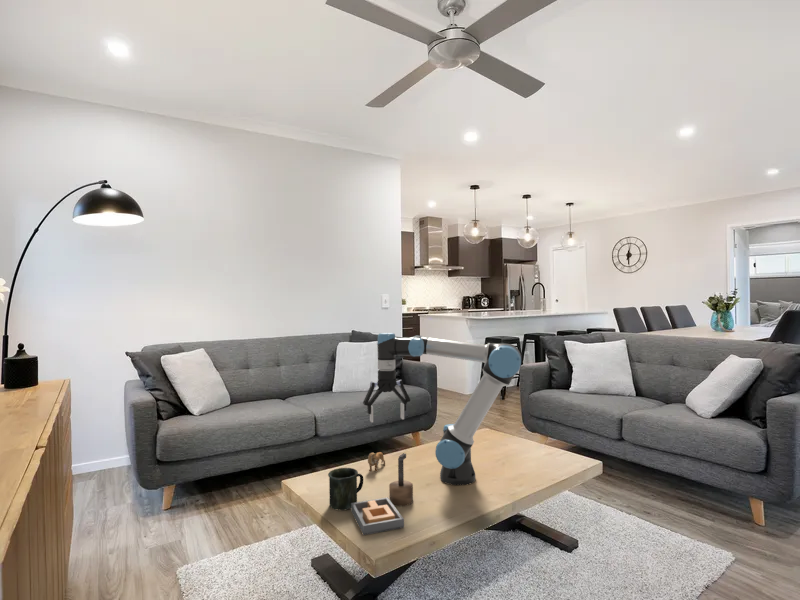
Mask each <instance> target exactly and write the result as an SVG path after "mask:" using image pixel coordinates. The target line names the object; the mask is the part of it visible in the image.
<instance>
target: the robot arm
mask: <svg viewBox="0 0 800 600" xmlns="http://www.w3.org/2000/svg"><path fill="white" fill-rule="evenodd" d="M376 345H377V369H378V370H377V381H376V382H375V381H370V383H369V388H368V390H367V393H366V395H365V397H364V399H363V402H362V404H363V405H364V406H367V415H369V422H370V423H374V406H373V404H374V402H375V401H376V400H377V399H378V397H380V395H381V394H382V393H391V392H393V393H394V394H395V396H397V398H398V399H399V400H400V401H401V402H400V407H399V408H400V419H401V420H405V412H406V411H407V404H408V403H409V402H411V398H410V396H409V393H407V390H406V388H405V386H404V381H403V380H402V379H398V380H396V377H397V375H396V357H397V356H398V357H399V356H401V357H402V356H403V357H404V356H405V357H421V356H423V355H429V356H437V357H444V358H450V359H457V360H465V361H470V362H478V363H484V366H483V367H482V369H481V370H482V373H483V375H482V376H481V378H480V380H479V382H478V384H477V386H475V389H474V390H473V392H472V393H471V395H470V397H469V399H468V401H467V403H466V404H465V405H464V407H463V409H462V410H461V412H460V414H459V416H458V418H457V420H456V421H455V423H449V424H445V425H444V426H443V430H442V432H443V436H442V437H441V439H440V441H439V442H438V443H437V444H436V447H435V457H436V460H437V462H438V463H439V464H440V465H441V469H440V473H439V479H440V481H441V482H443V483H445V484H447V485H451V484H452V486H466V485H467V484H468V485H471V484H473V483H474V482H476V472H475V469H474V465H473V463H472V447H473V445H474V443H475V441H474V436H475V434H476V432H477V431H478V429H479V427H480V426H481V424H482V422H483V421H484V419H485V417H487V416H486V415H488V412H489V410H490V409H491V408H492V405H493V404H494V403H495V400H496V399H497V398H498V395H499V394H500V392H501V390H502V389H503V387H506V386H507V387H508V386H509V385H510V383H511V382H512V380H513V378H514V377H515V375H516V374H518V372H519V370H520V368H521V365H522V353H521V352H520V350H519V349H518V347H517V346H516V345H514V344H511V343H495V342H487V344H482V343H475V342H466V341H459V340H458V341H457V340H451V339H442V338H437V337H435V338H434V337H429V336H428V337H426V336H423V335H419V334H418V335H414V336H411V337H396V334H395V333H394V332H380V333H379V334H378V335H377V343H376ZM396 386H398V387H399V388H400V390H401V392H402V394H401V393H400V392H399V391H398V390H397V388H396ZM376 387H378V388H377V390H376V391H375V392H374V390H375V389H376ZM373 392H374V394H373ZM372 394H373V395H372ZM403 396H404V397H403ZM470 483H471V484H470Z"/></svg>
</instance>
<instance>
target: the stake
mask: <svg viewBox="0 0 800 600" xmlns="http://www.w3.org/2000/svg"><path fill="white" fill-rule="evenodd" d="M406 458H407V453H402V454H400V455H399V456H398V459H397V460H398V461H397V466H398V467H397V469H398V471H397V472H398V474H397V475H398V476H397V477H398V480H393V481H392V482H390V483H389V485H388V487H389V490H388V491H389V493H388V494H389V497H388V498H389V500H390V501H391V502H392V504H393V505H394V506H395V507H396V506H398V507H405V506H410V505H411V504H412V503H413V502H414V487H413V486H414V485H413V483H412V482H411V481H408V480H405V479H404V478H405V476H404V475H405V474H404V460H405V459H406Z"/></svg>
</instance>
